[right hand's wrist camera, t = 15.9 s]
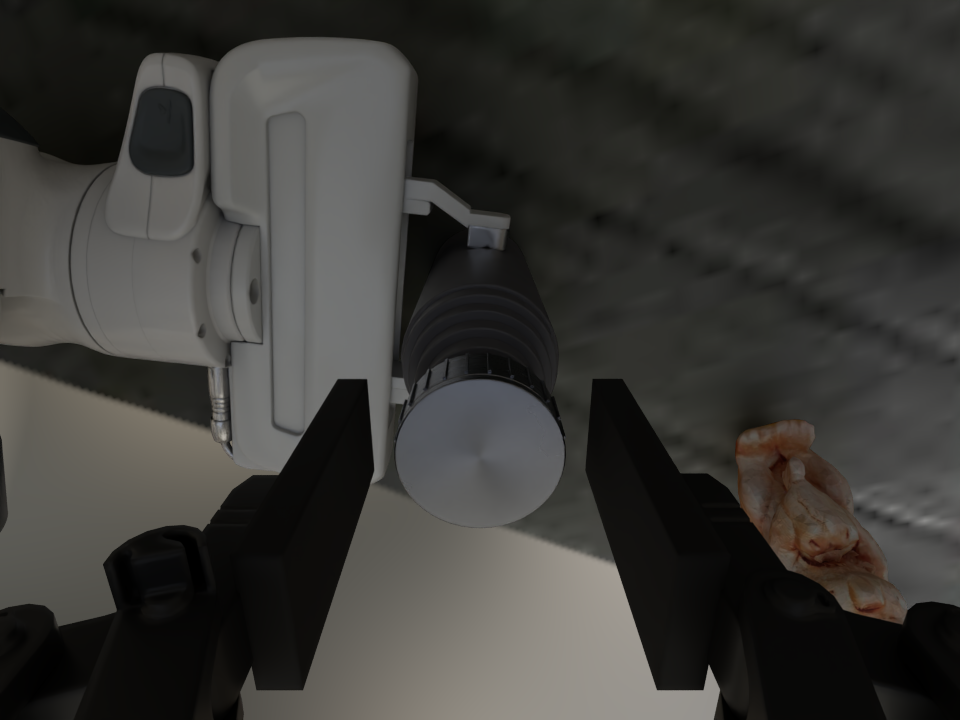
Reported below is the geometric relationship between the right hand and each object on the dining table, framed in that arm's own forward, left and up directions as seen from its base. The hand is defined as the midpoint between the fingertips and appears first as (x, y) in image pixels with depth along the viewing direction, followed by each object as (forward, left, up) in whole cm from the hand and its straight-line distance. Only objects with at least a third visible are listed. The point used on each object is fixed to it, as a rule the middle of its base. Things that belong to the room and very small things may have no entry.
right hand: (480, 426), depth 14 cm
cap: (0, 0, +1) cm, 1 cm away
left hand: (0, -1, -12) cm, 12 cm away
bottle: (0, 0, -18) cm, 18 cm away
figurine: (-14, -15, -18) cm, 28 cm away
